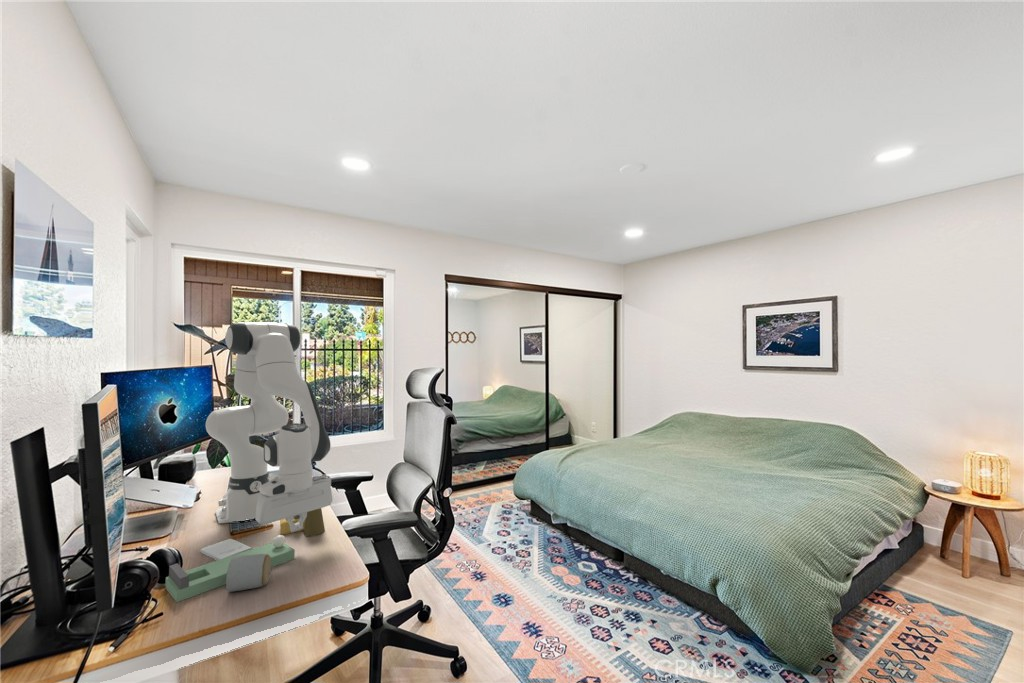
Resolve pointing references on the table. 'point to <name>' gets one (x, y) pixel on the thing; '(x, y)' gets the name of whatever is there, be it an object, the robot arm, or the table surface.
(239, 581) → the ceramic mug
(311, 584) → the table surface
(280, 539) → the ball
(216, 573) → the putting strip
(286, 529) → the rubber stamp
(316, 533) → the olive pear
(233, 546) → the external hard drive
